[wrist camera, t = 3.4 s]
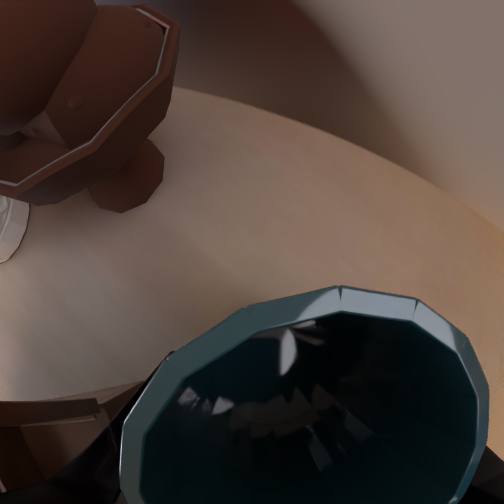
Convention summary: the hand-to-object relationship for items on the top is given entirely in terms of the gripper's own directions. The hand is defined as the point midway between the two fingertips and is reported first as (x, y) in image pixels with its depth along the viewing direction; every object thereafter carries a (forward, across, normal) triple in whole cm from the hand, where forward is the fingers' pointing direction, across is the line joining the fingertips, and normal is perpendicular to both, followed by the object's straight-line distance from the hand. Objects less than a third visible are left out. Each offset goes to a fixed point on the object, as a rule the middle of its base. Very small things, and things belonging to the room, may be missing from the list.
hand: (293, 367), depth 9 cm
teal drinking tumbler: (+4, 0, +6) cm, 7 cm away
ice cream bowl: (+12, +10, -2) cm, 16 cm away
